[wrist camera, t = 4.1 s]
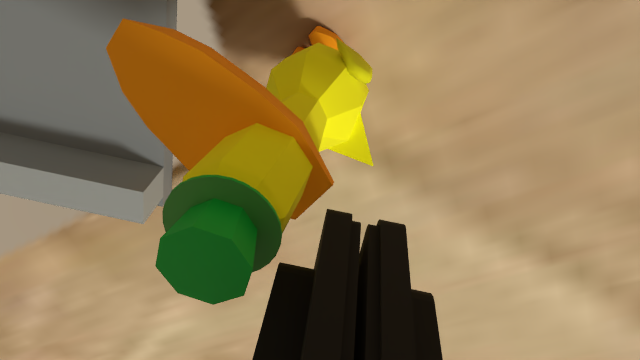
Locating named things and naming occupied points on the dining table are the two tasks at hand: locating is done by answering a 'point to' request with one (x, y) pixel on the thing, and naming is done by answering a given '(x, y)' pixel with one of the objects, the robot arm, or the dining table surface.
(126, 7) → the u rest
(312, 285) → the robot arm
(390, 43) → the dining table surface
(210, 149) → the toy figure
